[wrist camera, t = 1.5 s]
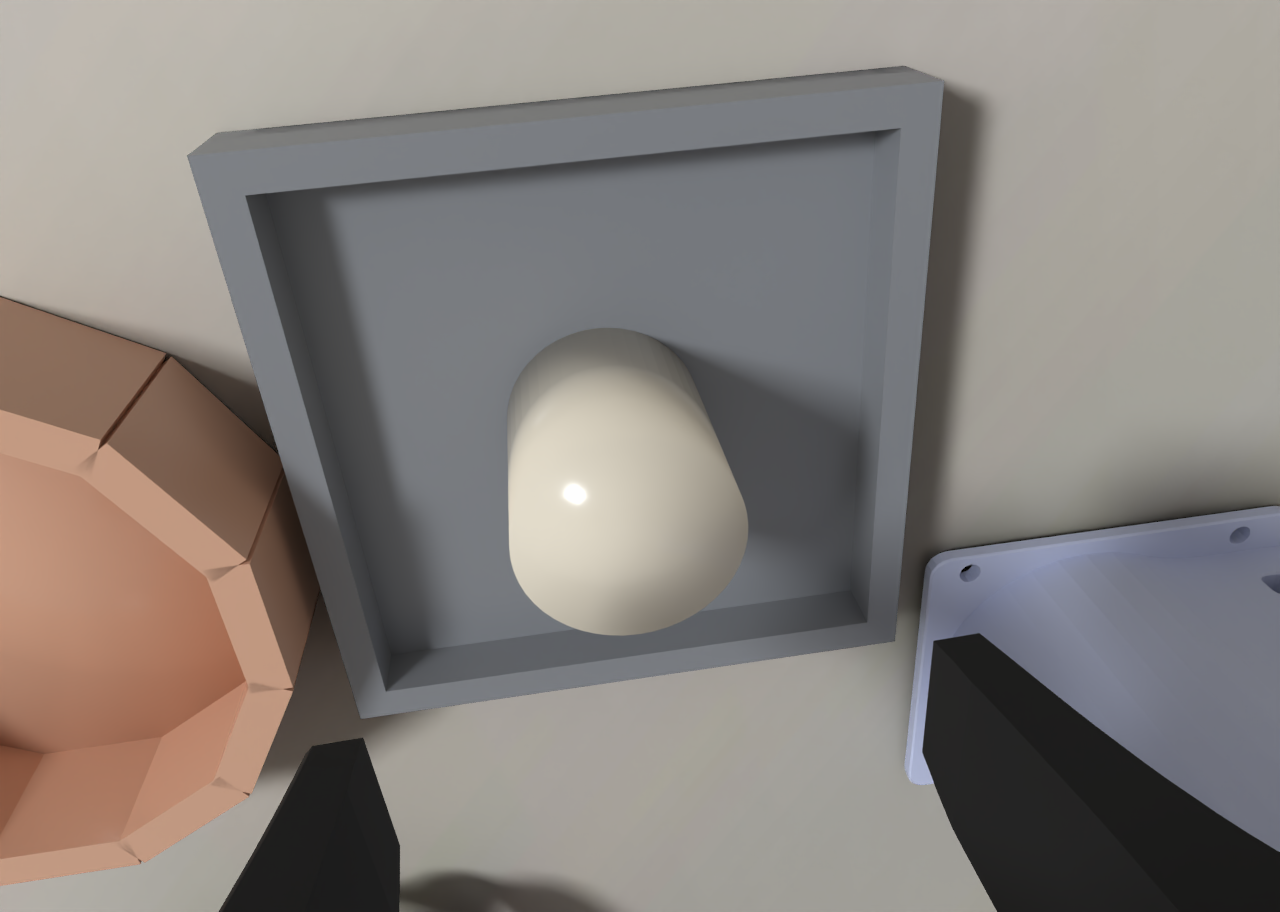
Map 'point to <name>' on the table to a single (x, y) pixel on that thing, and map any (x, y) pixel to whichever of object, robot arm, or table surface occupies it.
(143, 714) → the terracotta bowl
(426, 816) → the table surface
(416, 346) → the parts tray
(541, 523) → the cream rounded cylinder
